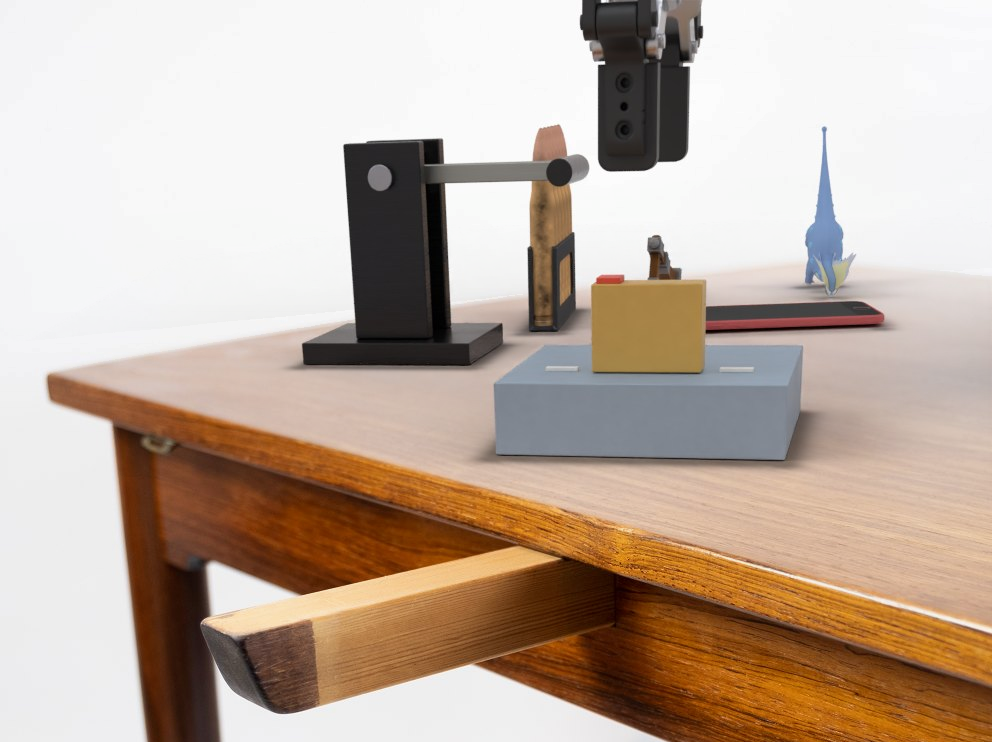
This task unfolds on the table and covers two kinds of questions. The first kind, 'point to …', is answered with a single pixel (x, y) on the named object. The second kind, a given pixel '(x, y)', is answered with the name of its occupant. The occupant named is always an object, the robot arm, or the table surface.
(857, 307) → the smartphone
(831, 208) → the dinosaur figurine
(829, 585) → the table surface
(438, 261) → the lever stand
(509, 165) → the handle lever
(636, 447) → the switch base
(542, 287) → the ammunition clip
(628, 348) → the yellow block
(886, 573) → the table surface
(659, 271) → the wooden post with brackets
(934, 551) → the table surface
